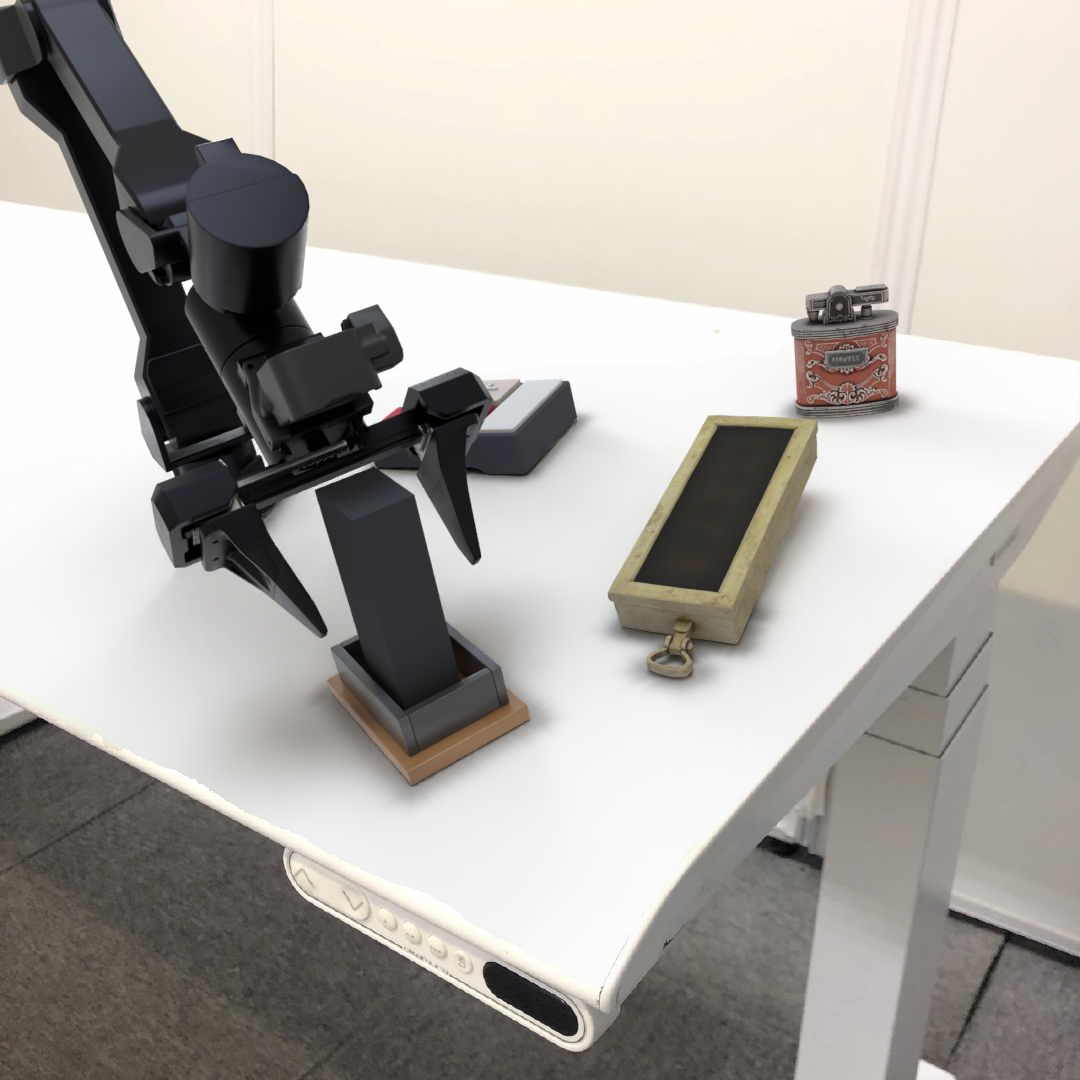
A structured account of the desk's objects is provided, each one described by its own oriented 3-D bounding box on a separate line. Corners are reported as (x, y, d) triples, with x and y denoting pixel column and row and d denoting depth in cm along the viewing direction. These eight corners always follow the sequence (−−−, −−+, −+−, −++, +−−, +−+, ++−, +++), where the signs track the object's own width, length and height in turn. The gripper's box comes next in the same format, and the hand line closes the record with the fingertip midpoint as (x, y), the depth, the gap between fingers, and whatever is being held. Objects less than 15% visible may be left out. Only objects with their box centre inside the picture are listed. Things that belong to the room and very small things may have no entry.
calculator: (425, 378, 96) (569, 371, 89) (437, 420, 98) (579, 417, 91) (361, 429, 88) (514, 426, 81) (375, 474, 90) (526, 474, 83)
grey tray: (330, 692, 62) (314, 645, 61) (437, 638, 65) (425, 592, 64) (412, 786, 54) (396, 735, 52) (531, 719, 57) (519, 668, 55)
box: (826, 472, 72) (819, 412, 69) (736, 716, 58) (722, 654, 55) (713, 467, 76) (702, 411, 73) (602, 694, 62) (582, 635, 59)
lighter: (796, 420, 84) (790, 301, 79) (794, 403, 86) (788, 287, 81) (901, 411, 82) (901, 288, 77) (895, 394, 85) (895, 274, 80)
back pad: (373, 686, 60) (314, 489, 54) (425, 661, 62) (374, 466, 55) (410, 727, 56) (351, 520, 50) (465, 699, 58) (414, 494, 51)
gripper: (82, 332, 47) (237, 629, 43) (439, 220, 54) (592, 466, 51) (109, 444, 57) (236, 692, 53) (407, 336, 64) (534, 547, 61)
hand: (403, 597), depth 54 cm, fingers open, 9 cm apart
